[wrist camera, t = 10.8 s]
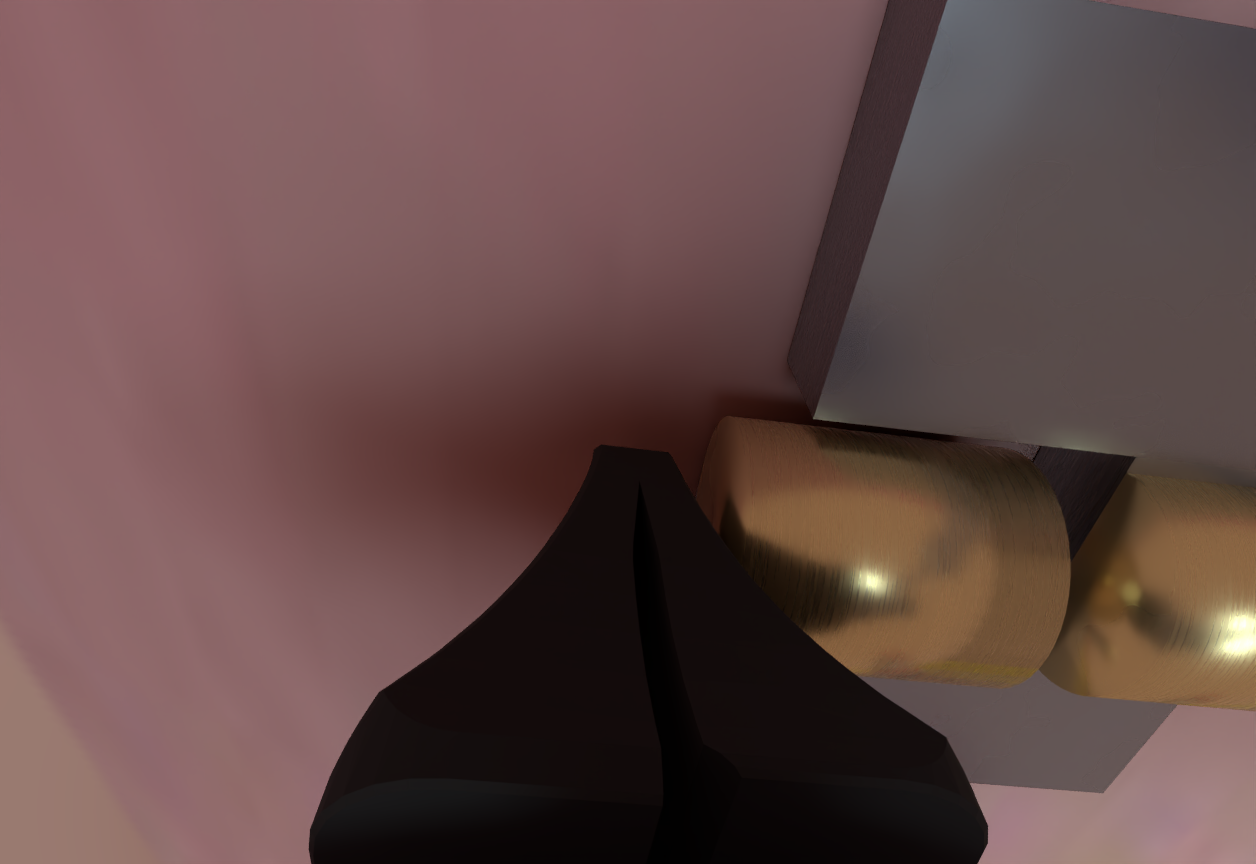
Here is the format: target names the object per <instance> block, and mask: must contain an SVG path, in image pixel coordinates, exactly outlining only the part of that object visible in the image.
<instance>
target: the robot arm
mask: <svg viewBox="0 0 1256 864" xmlns="http://www.w3.org/2000/svg"><path fill="white" fill-rule="evenodd" d="M987 844H988V825H987V822H986V820H985V818H984V815H983V813H982V811H981V809H980V806H979V804H978V802H977V799H976V797H975V794H974V792H973V790H972V787H971V785H970V783H969V781H968V778H967V776H966V774H965V772H964V770H963V768H962V766H961V764H960V762H959V760H958V759H957V757H956V755H955V753H954V751H953V749H952V747H951V745H950V743H949V742H948V740H947V738H946V737H945V736H944V735H942V734H941V733H939V732H938V731H936V730H935V729H933V728H932V727H930V726H929V725H927V724H926V723H924V722H923V721H921V720H920V719H918V718H917V717H915V716H914V715H912V714H911V713H909V712H908V711H906V710H905V709H903V708H902V707H900V706H899V705H897V704H896V703H894V702H892V701H891V700H889V699H888V698H886V697H885V696H884V695H882V694H881V693H879V692H878V691H877V690H875V689H874V688H873V687H871V686H870V685H869V684H867V683H866V682H865V681H863V680H862V679H861V678H859V677H858V676H857V675H855V674H854V673H853V672H852V671H850V670H849V669H848V668H846V667H845V666H844V665H842V664H841V663H840V662H839V661H838V660H836V659H835V658H834V657H833V656H832V655H830V654H829V653H828V652H827V651H825V650H824V649H823V648H822V647H821V646H820V645H819V644H817V643H816V642H815V641H814V640H813V639H812V638H811V637H810V636H809V635H807V634H806V633H805V632H804V631H803V630H802V629H801V628H800V627H799V626H798V625H796V624H795V623H794V622H793V621H792V620H791V619H790V618H789V617H788V616H787V615H786V614H785V613H784V612H783V611H782V610H781V609H780V608H779V607H778V606H777V605H776V604H775V603H774V602H773V601H772V600H771V599H770V598H769V596H768V595H767V594H766V593H765V592H764V591H763V590H762V589H761V588H760V587H759V586H758V585H757V584H756V582H755V581H754V580H753V579H752V578H751V577H750V575H749V574H748V573H747V572H746V570H745V569H744V568H743V567H742V565H741V564H740V563H739V562H738V560H737V559H736V558H735V556H734V555H733V554H732V552H731V551H730V550H729V548H728V547H727V546H726V544H725V543H724V542H723V540H722V539H721V537H720V536H719V535H718V533H717V532H716V530H715V529H714V527H713V526H712V524H711V522H710V521H709V519H708V518H707V516H706V515H705V513H704V512H703V510H702V509H701V507H700V506H699V504H698V502H697V501H696V499H695V497H694V496H693V494H692V492H691V491H690V489H689V487H688V485H687V484H686V482H685V480H684V478H683V477H682V475H681V473H680V471H679V469H678V467H677V465H676V463H675V461H674V459H673V458H672V457H671V455H670V454H669V453H668V452H660V451H651V450H643V449H634V448H625V447H616V446H607V445H600V446H599V447H597V448H596V449H594V453H593V459H592V463H591V466H590V469H589V471H588V474H587V476H586V478H585V480H584V483H583V485H582V487H581V489H580V491H579V492H578V494H577V496H576V498H575V500H574V501H573V503H572V505H571V507H570V508H569V510H568V512H567V514H566V515H565V517H564V518H563V520H562V521H561V523H560V524H559V526H558V527H557V529H556V530H555V531H554V533H553V534H552V536H551V537H550V539H549V540H548V542H547V543H546V544H545V546H544V547H543V548H542V550H541V551H540V552H539V554H538V555H537V556H536V557H535V559H534V560H533V561H532V562H531V564H530V565H529V566H528V567H527V568H526V569H525V570H524V572H523V573H522V574H521V575H520V576H519V577H518V579H517V580H516V581H515V582H514V583H513V584H512V585H511V586H510V587H509V588H508V589H507V590H506V591H505V592H504V593H503V594H502V595H501V596H500V597H499V598H498V599H497V600H496V601H495V602H494V603H493V604H492V605H491V606H490V607H489V608H488V609H487V610H486V611H485V612H484V613H483V614H482V615H481V616H480V617H479V618H477V619H476V620H475V621H474V622H473V623H471V624H470V625H469V626H468V627H467V628H465V629H464V630H463V631H462V632H461V633H460V634H458V635H457V636H456V637H455V638H454V639H452V640H451V641H450V642H449V643H448V644H446V645H445V646H444V647H443V648H442V649H440V650H439V651H438V652H436V653H435V654H434V655H432V656H431V657H430V658H428V659H427V660H425V661H424V662H422V663H421V664H420V665H418V666H417V667H415V668H414V669H412V670H411V671H409V672H408V673H407V674H405V675H404V676H402V677H401V678H399V679H398V680H396V681H395V682H393V683H392V684H391V685H389V686H388V687H386V688H385V689H383V690H382V691H380V692H379V693H378V694H377V696H376V697H375V699H374V700H373V702H372V703H371V705H370V706H369V708H368V709H367V711H366V712H365V714H364V716H363V717H362V719H361V720H360V722H359V723H358V725H357V727H356V728H355V730H354V732H353V734H352V735H351V737H350V739H349V740H348V742H347V744H346V746H345V748H344V750H343V752H342V754H341V755H340V757H339V759H338V761H337V763H336V765H335V767H334V769H333V771H332V773H331V776H330V778H329V780H328V783H327V786H326V788H325V791H324V794H323V797H322V799H321V802H320V805H319V807H318V810H317V813H316V815H315V818H314V821H313V823H312V826H311V829H310V838H309V853H310V859H311V864H977V863H978V862H979V860H980V858H981V856H982V854H983V852H984V850H985V848H986V846H987Z"/></svg>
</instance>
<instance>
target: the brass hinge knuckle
mask: <svg viewBox="0 0 1256 864" xmlns="http://www.w3.org/2000/svg"><path fill="white" fill-rule="evenodd" d="M695 499H696V501H697V502H698V504H699V506H700V507H701V509H702V510H703V512H704V513H705V515H706V516H707V518H708V519H709V521H710V522H711V524H712V526H713V527H714V529H715V530H716V532H717V533H718V535H719V536H720V537H721V539H722V540H723V542H724V543H725V544H726V546H727V547H728V548H729V550H730V551H731V552H732V554H733V555H734V556H735V558H736V559H737V560H738V562H739V563H740V564H741V565H742V567H743V568H744V569H745V570H746V572H747V573H748V574H749V575H750V577H751V578H752V579H753V580H754V581H755V582H756V584H757V585H758V586H759V587H760V588H761V589H762V590H763V591H764V592H765V593H766V594H767V595H768V596H769V598H770V599H771V600H772V601H773V602H774V603H775V604H776V605H777V606H778V607H779V608H780V609H781V610H782V611H783V612H784V613H785V614H786V615H787V616H788V617H789V618H790V619H791V620H792V621H793V622H794V623H795V624H796V625H798V626H799V627H800V628H801V629H802V630H803V631H804V632H805V633H806V634H807V635H809V636H810V637H811V638H812V639H813V640H814V641H815V642H816V643H817V644H819V645H820V646H821V647H822V648H823V649H824V650H825V651H827V652H828V653H829V654H830V655H832V656H833V657H834V658H835V659H836V660H838V661H839V662H840V663H841V664H842V665H844V666H845V667H846V668H848V669H849V670H850V671H852V672H853V673H854V674H855V675H857V676H858V677H859V678H861V679H862V680H863V681H865V682H866V683H867V684H869V685H870V686H871V687H873V688H874V689H875V690H877V691H878V692H879V693H881V694H882V695H884V696H885V697H886V698H888V699H889V700H891V701H892V702H894V703H896V704H897V705H899V706H900V707H902V708H903V709H905V710H906V711H908V712H909V713H911V714H912V715H914V716H915V717H917V718H918V719H920V720H921V721H923V722H924V723H926V724H927V725H929V726H930V727H932V728H933V729H935V730H936V731H938V732H939V733H941V734H942V735H944V736H945V737H946V738H947V740H948V742H949V743H950V745H951V747H952V749H953V751H954V753H955V755H956V757H957V759H958V760H959V762H960V764H961V766H962V768H963V770H964V772H965V774H966V776H967V778H968V781H969V783H978V784H991V785H1004V786H1017V787H1030V788H1043V789H1056V790H1069V791H1082V792H1095V793H1104V791H1105V790H1106V789H1107V788H1108V787H1109V785H1110V784H1111V783H1112V782H1113V781H1114V780H1115V778H1116V777H1117V776H1118V775H1119V774H1120V772H1121V771H1122V770H1123V769H1124V768H1125V766H1126V765H1127V764H1128V763H1129V762H1130V761H1131V759H1132V758H1133V757H1134V756H1135V755H1136V753H1137V752H1138V751H1139V750H1140V749H1141V747H1142V746H1143V745H1144V744H1145V743H1146V742H1147V740H1148V739H1149V738H1150V737H1151V736H1152V734H1153V733H1154V732H1155V731H1156V730H1157V728H1158V727H1159V726H1160V725H1161V724H1162V723H1163V721H1164V720H1165V719H1166V718H1167V717H1168V715H1169V714H1170V713H1171V712H1172V711H1173V709H1174V708H1175V707H1176V706H1177V705H1178V704H1167V703H1156V702H1144V701H1133V700H1122V699H1110V698H1099V697H1088V696H1081V695H1077V694H1074V693H1070V692H1068V691H1066V690H1064V689H1062V688H1060V687H1059V686H1057V685H1056V684H1054V683H1053V682H1051V681H1050V680H1049V679H1048V678H1047V677H1045V676H1044V675H1043V674H1042V673H1041V672H1040V671H1039V670H1038V669H1039V668H1040V667H1041V666H1042V664H1043V663H1044V662H1045V660H1046V659H1047V658H1048V656H1049V654H1050V652H1051V651H1052V649H1053V647H1054V645H1055V643H1056V641H1057V638H1058V636H1059V633H1060V631H1061V628H1062V625H1063V621H1064V618H1065V614H1066V609H1067V604H1068V598H1069V590H1070V578H1071V562H1070V549H1069V539H1068V534H1067V529H1066V524H1065V520H1064V517H1063V513H1062V510H1061V507H1060V504H1059V502H1058V500H1057V497H1056V495H1055V492H1054V490H1053V489H1052V487H1051V485H1050V483H1049V482H1048V480H1047V478H1046V477H1045V476H1044V474H1043V473H1042V472H1041V470H1040V469H1039V468H1038V467H1037V466H1036V465H1035V464H1034V463H1033V462H1032V461H1031V460H1030V459H1028V458H1027V457H1025V456H1024V455H1022V454H1021V453H1018V452H1016V451H1014V450H1011V449H1006V448H1000V447H992V446H983V445H975V444H966V443H957V442H949V441H940V440H932V439H923V438H914V437H906V436H897V435H889V434H880V433H871V432H863V431H854V430H846V429H837V428H828V427H820V426H811V425H803V424H794V423H785V422H777V421H768V420H760V419H751V418H742V417H734V416H726V417H724V418H723V419H721V421H720V422H719V423H718V425H717V427H716V428H715V430H714V433H713V435H712V437H711V440H710V443H709V445H708V449H707V452H706V455H705V459H704V463H703V467H702V471H701V475H700V480H699V484H698V488H697V492H696V497H695Z"/></svg>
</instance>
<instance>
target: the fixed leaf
mask: <svg viewBox="0 0 1256 864" xmlns="http://www.w3.org/2000/svg"><path fill="white" fill-rule="evenodd" d="M787 361H788V363H789V366H790V368H791V370H792V372H793V375H794V377H795V379H796V381H797V384H798V386H799V388H800V390H801V393H802V395H803V397H804V399H805V402H806V404H807V406H808V408H809V411H810V413H811V415H812V417H813V419H818V420H827V421H835V422H844V423H852V424H861V425H869V426H878V427H886V428H895V429H903V430H912V431H920V432H929V433H938V434H946V435H955V436H963V437H972V438H980V439H989V440H997V441H1006V442H1014V443H1023V444H1032V445H1040V446H1042V447H1041V449H1040V451H1039V452H1038V454H1037V456H1036V458H1035V460H1034V462H1033V463H1034V464H1035V465H1036V466H1037V467H1038V468H1039V469H1040V470H1041V472H1042V473H1043V474H1044V476H1045V477H1046V478H1047V480H1048V482H1049V483H1050V485H1051V487H1052V489H1053V490H1054V492H1055V495H1056V497H1057V500H1058V502H1059V504H1060V507H1061V510H1062V513H1063V517H1064V520H1065V524H1066V529H1067V534H1068V539H1069V549H1070V562H1071V578H1070V590H1069V598H1068V604H1067V609H1066V614H1065V618H1064V621H1063V625H1062V628H1061V631H1060V633H1059V636H1058V638H1057V641H1056V643H1055V645H1054V647H1053V649H1052V651H1051V652H1050V654H1049V656H1048V658H1047V659H1046V660H1045V662H1044V663H1043V664H1042V666H1041V667H1040V668H1039V669H1038V670H1039V671H1040V672H1041V673H1042V674H1043V675H1044V676H1045V677H1047V678H1048V679H1049V680H1050V681H1051V682H1053V683H1054V684H1056V685H1057V686H1059V687H1060V688H1062V689H1064V690H1066V691H1068V692H1070V693H1074V694H1077V695H1081V696H1088V697H1099V698H1110V699H1122V700H1133V701H1144V702H1156V703H1167V704H1178V705H1190V706H1201V707H1212V708H1224V709H1235V710H1246V711H1256V29H1254V28H1248V27H1242V26H1236V25H1230V24H1224V23H1218V22H1213V21H1207V20H1201V19H1195V18H1189V17H1183V16H1177V15H1171V14H1166V13H1160V12H1154V11H1148V10H1142V9H1136V8H1130V7H1124V6H1118V5H1113V4H1107V3H1101V2H1095V1H1089V0H889V3H888V7H887V10H886V14H885V18H884V21H883V25H882V28H881V32H880V35H879V39H878V42H877V46H876V49H875V53H874V56H873V60H872V63H871V67H870V70H869V74H868V77H867V81H866V84H865V88H864V92H863V95H862V99H861V102H860V106H859V109H858V113H857V116H856V120H855V123H854V127H853V130H852V134H851V137H850V141H849V144H848V148H847V151H846V155H845V159H844V162H843V166H842V169H841V173H840V176H839V180H838V183H837V187H836V190H835V194H834V197H833V201H832V204H831V208H830V211H829V215H828V218H827V222H826V226H825V229H824V233H823V236H822V240H821V243H820V247H819V250H818V254H817V257H816V261H815V264H814V268H813V271H812V275H811V278H810V282H809V285H808V289H807V292H806V296H805V300H804V303H803V307H802V310H801V314H800V317H799V321H798V324H797V328H796V331H795V335H794V338H793V342H792V345H791V349H790V352H789V356H788V359H787Z"/></svg>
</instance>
